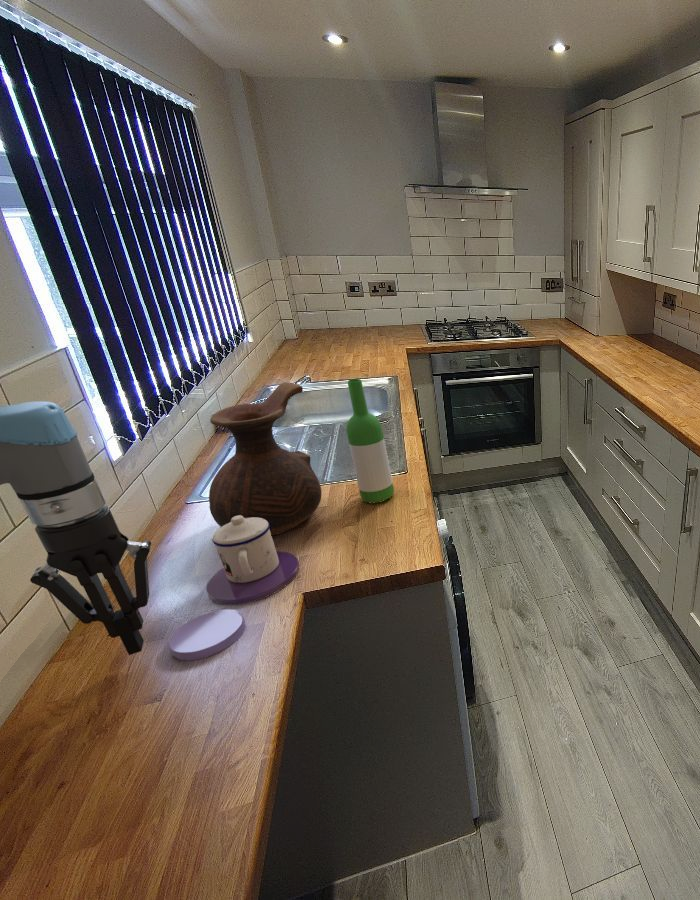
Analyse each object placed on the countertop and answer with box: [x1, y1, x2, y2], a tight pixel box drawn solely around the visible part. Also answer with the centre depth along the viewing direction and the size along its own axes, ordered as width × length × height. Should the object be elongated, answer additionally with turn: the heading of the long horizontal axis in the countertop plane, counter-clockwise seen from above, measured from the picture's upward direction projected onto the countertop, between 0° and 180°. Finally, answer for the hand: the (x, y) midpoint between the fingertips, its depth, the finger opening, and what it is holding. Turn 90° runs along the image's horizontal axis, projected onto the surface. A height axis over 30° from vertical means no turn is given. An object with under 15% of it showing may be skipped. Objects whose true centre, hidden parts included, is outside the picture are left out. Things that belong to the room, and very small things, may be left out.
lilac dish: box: [168, 608, 246, 661], centre depth 86 cm, size 10×10×2 cm
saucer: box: [206, 550, 300, 606], centre depth 100 cm, size 15×15×1 cm
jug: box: [208, 381, 322, 536], centre depth 114 cm, size 22×22×30 cm
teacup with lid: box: [211, 515, 279, 583], centre depth 98 cm, size 12×9×12 cm
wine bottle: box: [345, 378, 395, 504], centre depth 124 cm, size 8×8×30 cm
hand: (136, 647), depth 81 cm, fingers closed
